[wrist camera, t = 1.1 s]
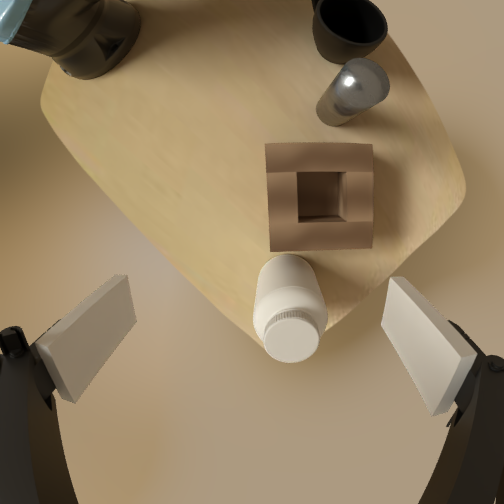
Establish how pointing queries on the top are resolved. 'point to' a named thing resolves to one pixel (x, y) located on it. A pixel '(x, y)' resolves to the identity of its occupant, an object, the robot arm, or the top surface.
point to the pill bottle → (289, 309)
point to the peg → (353, 91)
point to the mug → (347, 29)
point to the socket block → (320, 196)
